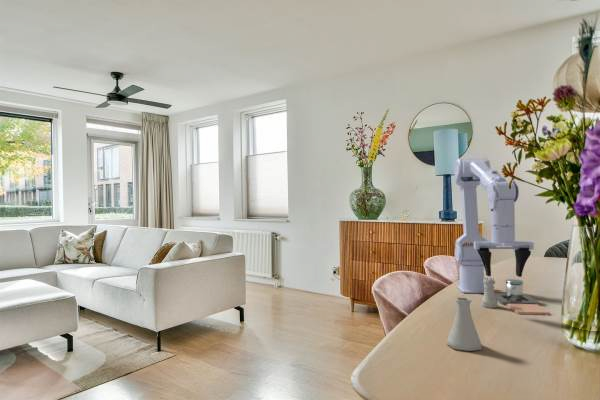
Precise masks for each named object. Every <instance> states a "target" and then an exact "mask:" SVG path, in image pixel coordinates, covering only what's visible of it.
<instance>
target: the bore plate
mask: <svg viewBox="0 0 600 400" xmlns="http://www.w3.org/2000/svg"><path fill="white" fill-rule="evenodd" d="M494 295H495V298H496V300H497V302H499V304H501V305H502V306H507V304H537V305H539V306H541V303H540V302H539V301H537V300H536V299H534V298H532V297H531V296H530V295H528V294H525V293H523V301H514V300H506V293H494Z"/></svg>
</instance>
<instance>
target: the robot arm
mask: <svg viewBox="0 0 600 400" xmlns="http://www.w3.org/2000/svg"><path fill="white" fill-rule="evenodd" d="M453 169H454V171H453V172H454V181H455V185H458V186H459V187H460V195H461V196H460V198H461V213H462V230H463V231H462V232H463V234H462V235H460V236H459V237H458V238H456V240H455V241H454V242H455V246H454V247H455V248H454V258H455V260H456V261H457V263H458V264H460V266H459V269H458V271H459V275H458V276H459V284H456V287H457V289H459V290H460V292H462V293H467V294H468V293H469V294H484V291H485V288H484V286H485V284H484V283H483V280H484V278H485V276H487V277H491V275H492V267H491V262H492V261H491V259H492V252H491V251H490V250H513V251H514V255H515V275H516V276H517V277H518V278H521V277H522V276H523V272H524V269H525V265H526V264H527V261H528V259H529V258H530V257H531V255H532V254H531V253H532V251H533V250H535V247H534V244H535V243H534V242H532V241H521V240H520V241H517V240H516V229H515V227H516V221H515V220H516V219H515V218H516V217H515V213H516V212H515V206H516V205H515V203H516V202H517V201H518V199H519V194H520V191H519V185H518V183H517V182H516V180H509V181H508V180H507V179H506V178H505V177H503V175H501V174H500V173H499V172H498V170H497V169H491V163H490V160H489V159H488V158H487V157H483V158H480V157H479V158H457V159H456V160H455V162H454V168H453ZM510 181H512V184H511V189H509V183H510ZM479 185H480V186H481V187H482V188H483V189H484V190H485V191H486V197H487V200H488V209H490V233H491V234H490V239H491V240H487V239H486V238H485V237H484V236H482V235H480V228H479V227H480V226H479V213H478V198H477V187H479ZM531 250H532V251H531Z"/></svg>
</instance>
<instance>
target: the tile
mask: <svg viewBox="0 0 600 400" xmlns="http://www.w3.org/2000/svg"><path fill="white" fill-rule="evenodd" d="M506 306H507V307H508V308H509V309H510V310H512V311H513V312H514V313H515V314H517V315H541V316H551V312H550V311H548V310H547V309H545V308H544V307H542V306H541V305H540V306H539V305H537V304H507V305H506Z"/></svg>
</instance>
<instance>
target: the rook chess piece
mask: <svg viewBox="0 0 600 400" xmlns="http://www.w3.org/2000/svg"><path fill="white" fill-rule="evenodd" d="M483 283H484V289H485V291H484V293H483V296H482V299H481V300H480V301H481V303H480V304H481V307H484V308H488V309H496V308H498V306H499V304H498V301H497V300H496V298H495V295H494V294H495V286H494V285H495V284H496V281H495V279H494V277H493V278H492V277H484V280H483Z"/></svg>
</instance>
